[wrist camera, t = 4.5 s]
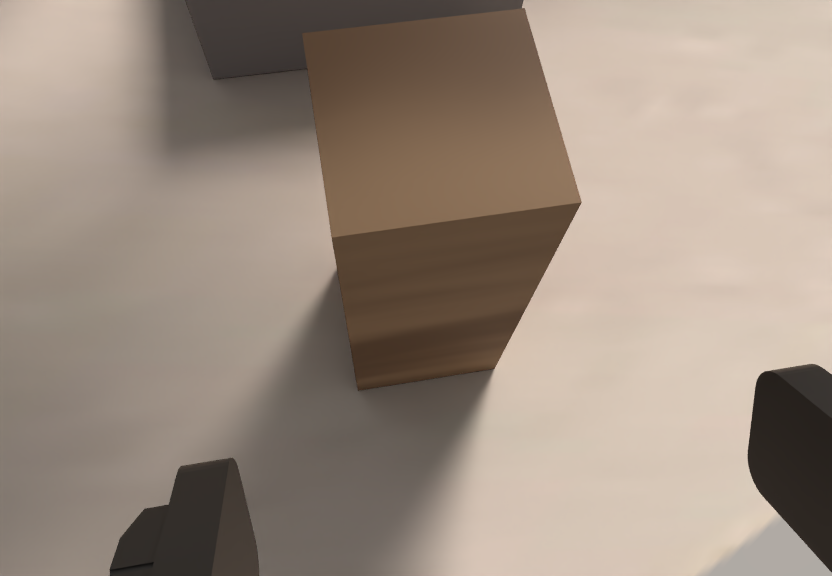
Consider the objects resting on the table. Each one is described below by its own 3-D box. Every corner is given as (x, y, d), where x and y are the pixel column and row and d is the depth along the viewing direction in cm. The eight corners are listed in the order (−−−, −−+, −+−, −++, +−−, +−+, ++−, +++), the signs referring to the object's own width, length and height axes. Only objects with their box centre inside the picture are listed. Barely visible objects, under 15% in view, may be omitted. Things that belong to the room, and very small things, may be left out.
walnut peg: (494, 368, 23) (581, 202, 12) (358, 390, 22) (331, 237, 12) (467, 245, 24) (524, 8, 14) (339, 264, 24) (301, 33, 14)
